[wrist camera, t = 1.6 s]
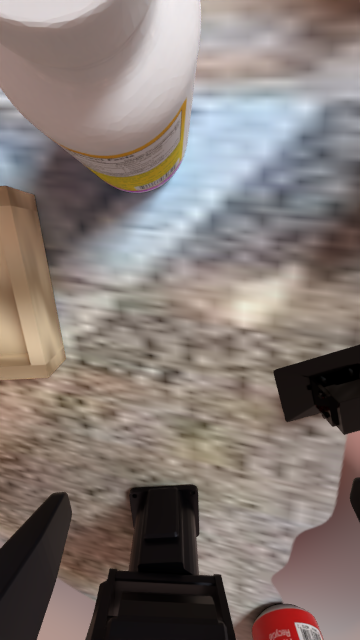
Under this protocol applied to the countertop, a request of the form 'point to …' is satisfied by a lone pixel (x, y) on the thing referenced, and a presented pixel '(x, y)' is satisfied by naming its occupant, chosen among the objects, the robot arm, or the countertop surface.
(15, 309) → the tray
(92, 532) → the countertop surface
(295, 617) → the soda can
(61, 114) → the supplement bottle
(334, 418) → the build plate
